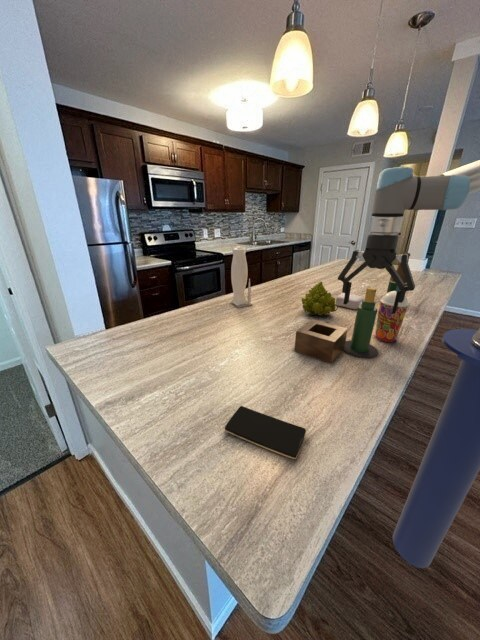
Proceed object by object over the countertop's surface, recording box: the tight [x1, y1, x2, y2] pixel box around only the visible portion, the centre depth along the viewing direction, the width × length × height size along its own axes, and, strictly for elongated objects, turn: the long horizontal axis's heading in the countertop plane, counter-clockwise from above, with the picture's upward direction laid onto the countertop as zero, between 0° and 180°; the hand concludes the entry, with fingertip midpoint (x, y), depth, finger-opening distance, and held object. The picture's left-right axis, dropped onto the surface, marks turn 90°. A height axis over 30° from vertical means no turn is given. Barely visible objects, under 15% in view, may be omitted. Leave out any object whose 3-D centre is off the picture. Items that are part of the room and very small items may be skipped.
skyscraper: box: [230, 243, 253, 309], centre depth 119 cm, size 8×8×28 cm
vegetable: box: [301, 281, 339, 317], centre depth 112 cm, size 15×16×15 cm
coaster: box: [342, 340, 379, 359], centre depth 84 cm, size 11×11×1 cm
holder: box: [293, 318, 349, 364], centre depth 83 cm, size 12×12×7 cm
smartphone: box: [224, 405, 307, 460], centre depth 52 cm, size 7×1×15 cm
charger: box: [335, 293, 365, 311], centre depth 121 cm, size 5×9×15 cm
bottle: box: [350, 286, 378, 352], centre depth 81 cm, size 5×5×20 cm
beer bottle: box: [386, 252, 411, 293], centre depth 123 cm, size 8×8×24 cm
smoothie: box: [374, 286, 410, 343], centre depth 88 cm, size 8×8×20 cm
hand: (368, 307), depth 79 cm, fingers open, 13 cm apart
